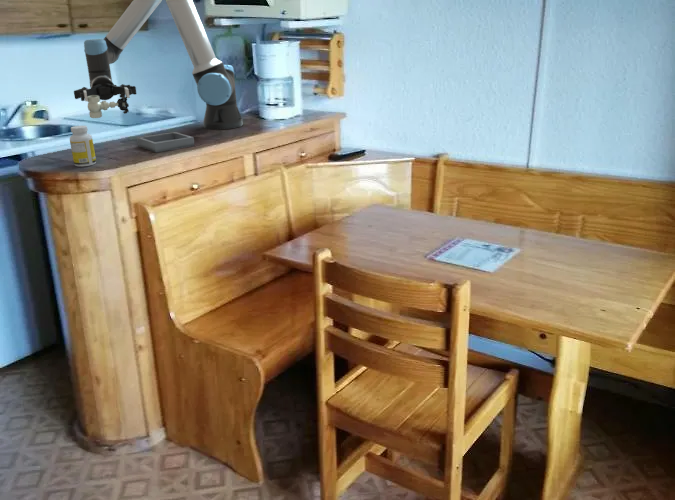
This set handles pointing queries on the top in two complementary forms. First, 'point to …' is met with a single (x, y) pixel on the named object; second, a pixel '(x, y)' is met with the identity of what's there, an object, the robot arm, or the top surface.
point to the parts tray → (165, 142)
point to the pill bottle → (82, 147)
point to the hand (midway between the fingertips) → (107, 95)
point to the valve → (105, 105)
